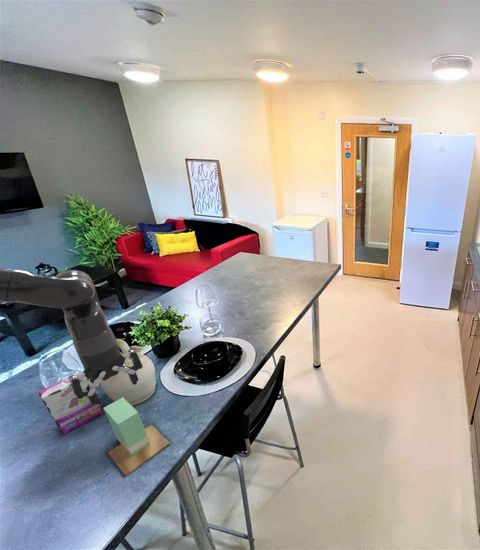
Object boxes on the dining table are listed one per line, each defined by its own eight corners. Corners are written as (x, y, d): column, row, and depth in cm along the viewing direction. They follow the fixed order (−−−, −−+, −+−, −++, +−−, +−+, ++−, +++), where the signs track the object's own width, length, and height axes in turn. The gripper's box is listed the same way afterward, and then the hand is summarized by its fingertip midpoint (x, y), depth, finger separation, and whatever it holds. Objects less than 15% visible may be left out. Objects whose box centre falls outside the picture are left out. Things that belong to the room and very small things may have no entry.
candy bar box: (100, 405, 104) (83, 370, 97) (105, 412, 101) (89, 376, 94) (57, 428, 95) (36, 391, 88) (62, 436, 93) (40, 398, 86)
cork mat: (125, 476, 82) (125, 475, 82) (108, 453, 88) (107, 452, 88) (170, 443, 92) (169, 442, 92) (151, 424, 97) (151, 424, 97)
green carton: (117, 424, 81) (102, 408, 86) (132, 456, 87) (117, 439, 92) (138, 412, 85) (123, 396, 90) (150, 443, 91) (135, 427, 96)
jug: (147, 373, 118) (129, 322, 108) (168, 389, 112) (151, 336, 101) (101, 398, 106) (76, 343, 96) (122, 418, 99) (97, 361, 89)
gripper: (123, 327, 81) (139, 372, 88) (53, 355, 70) (77, 403, 77) (135, 337, 78) (151, 382, 84) (64, 367, 66) (88, 417, 73)
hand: (116, 392), depth 80 cm, fingers open, 8 cm apart
